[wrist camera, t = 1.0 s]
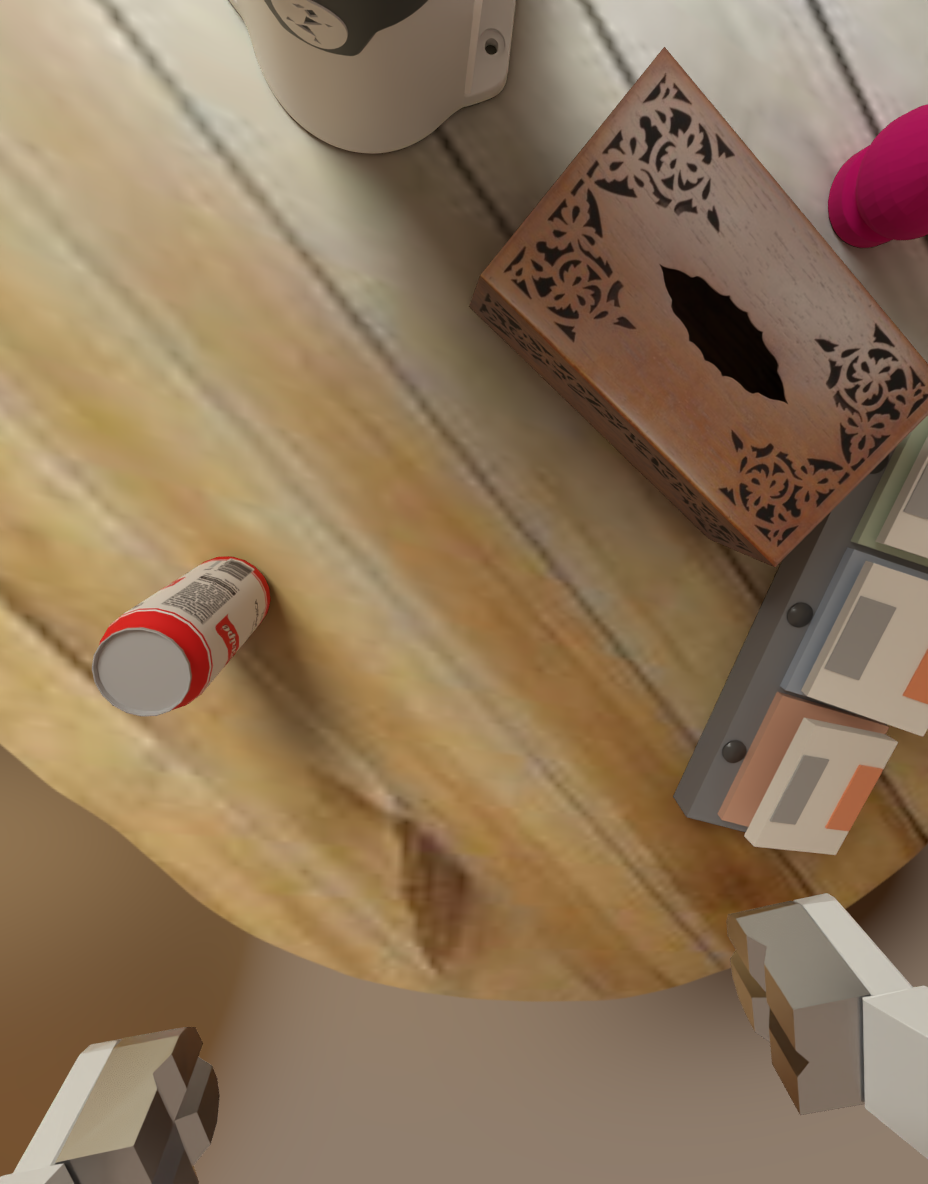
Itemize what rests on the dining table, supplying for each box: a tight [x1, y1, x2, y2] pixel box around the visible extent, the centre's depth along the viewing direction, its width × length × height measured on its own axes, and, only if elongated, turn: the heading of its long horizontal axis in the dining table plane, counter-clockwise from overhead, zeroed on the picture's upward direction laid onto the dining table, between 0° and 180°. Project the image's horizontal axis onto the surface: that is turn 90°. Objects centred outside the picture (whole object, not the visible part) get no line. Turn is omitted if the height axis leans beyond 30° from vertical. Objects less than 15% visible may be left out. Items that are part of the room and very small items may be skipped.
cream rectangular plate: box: [801, 561, 928, 737], centre depth 46 cm, size 11×9×1 cm
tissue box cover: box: [469, 47, 928, 567], centre depth 40 cm, size 26×14×10 cm, turn 49°
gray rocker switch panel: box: [673, 416, 928, 832], centre depth 50 cm, size 39×13×4 cm, turn 162°
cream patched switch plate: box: [744, 718, 898, 855], centre depth 49 cm, size 11×9×1 cm
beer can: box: [92, 557, 270, 716], centre depth 40 cm, size 6×6×16 cm
